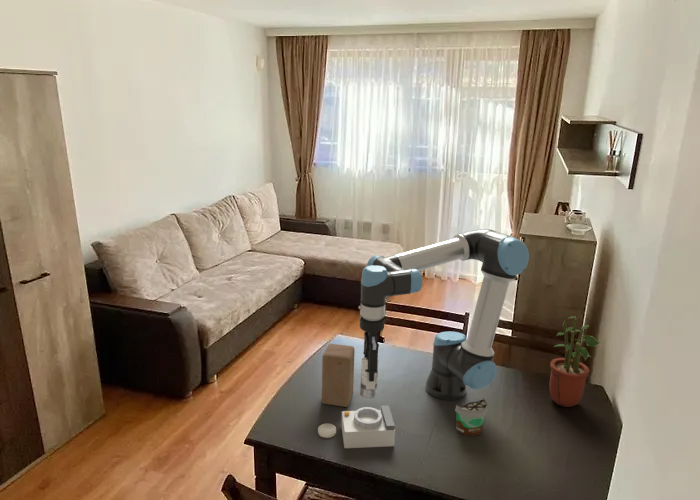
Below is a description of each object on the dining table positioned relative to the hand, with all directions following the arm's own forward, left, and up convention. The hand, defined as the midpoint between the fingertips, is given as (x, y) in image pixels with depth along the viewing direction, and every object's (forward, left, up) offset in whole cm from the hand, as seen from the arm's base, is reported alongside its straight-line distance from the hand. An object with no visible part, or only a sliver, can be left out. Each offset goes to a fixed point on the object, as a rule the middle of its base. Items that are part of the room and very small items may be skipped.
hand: (369, 383), depth 158 cm
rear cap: (+13, -3, -20) cm, 24 cm away
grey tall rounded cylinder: (0, 0, -4) cm, 4 cm away
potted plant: (-77, -17, -20) cm, 81 cm away
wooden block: (+8, -22, -20) cm, 31 cm away
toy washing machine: (0, 0, -20) cm, 20 cm away
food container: (-36, 0, -20) cm, 41 cm away
